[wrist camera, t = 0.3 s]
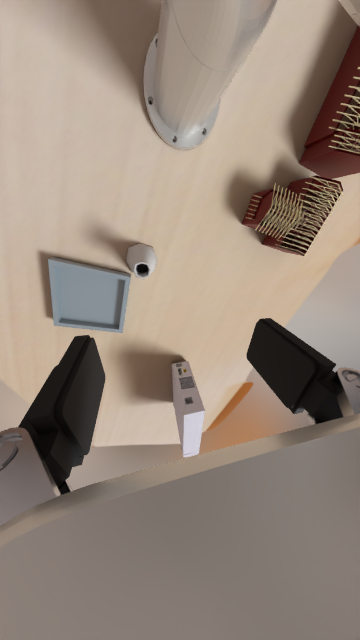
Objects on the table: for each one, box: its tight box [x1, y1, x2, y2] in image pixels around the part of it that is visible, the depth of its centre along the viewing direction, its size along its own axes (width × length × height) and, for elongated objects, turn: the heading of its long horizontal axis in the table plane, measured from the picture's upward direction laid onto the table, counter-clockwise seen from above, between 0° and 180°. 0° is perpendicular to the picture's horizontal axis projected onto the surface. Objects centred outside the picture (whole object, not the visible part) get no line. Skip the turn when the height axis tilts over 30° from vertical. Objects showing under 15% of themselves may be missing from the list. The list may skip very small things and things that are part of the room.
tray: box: [48, 257, 131, 333], centre depth 39 cm, size 16×16×2 cm
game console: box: [171, 361, 205, 457], centre depth 56 cm, size 6×27×20 cm, turn 0°
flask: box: [126, 243, 157, 279], centre depth 34 cm, size 7×7×10 cm
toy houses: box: [242, 26, 360, 256], centre depth 28 cm, size 45×20×10 cm, turn 165°
